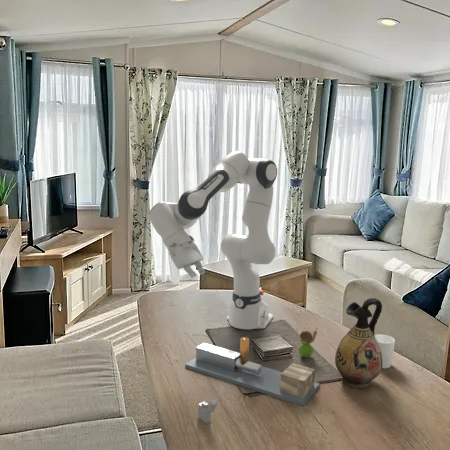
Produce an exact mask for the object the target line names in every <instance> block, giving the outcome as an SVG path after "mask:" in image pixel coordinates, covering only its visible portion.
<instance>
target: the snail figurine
mask: <svg viewBox="0 0 450 450" xmlns="http://www.w3.org/2000/svg"><path fill="white" fill-rule="evenodd" d="M317 330H318V327H315V330H314V331H313V332H311V331H308V330H303V331H301V332H300V334H299V338H300V339H299V342H300V343H301V344H300V345H299V347H298V353H299V355H300V356H301V357H302V358H306V359H308V358H311V356H313V354H314V347H313V346H312V345H311V344H312V343H313V342H314V341H315V340H316V337H317V333H318V331H317Z"/></svg>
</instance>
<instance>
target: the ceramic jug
mask: <svg viewBox="0 0 450 450" xmlns="http://www.w3.org/2000/svg"><path fill="white" fill-rule="evenodd" d="M372 305H374V306H375V309H374V312H373V313H372V312H371V310H370V309H369V307H370V306H372ZM345 311H346V314H347V315H348V316H350V317H351V316H352V317H353V318H356V319H357V321H356V323H355V325H354V326H352V327H351V328H350V330H348V332H346V334H345V335H344V336H343V338H342V339H341V341H340V343H339V344H338V346H337V349H336V352H335V355H334V360H335V361H334V362H335V366H336V369H337V372H338V373H339V374H340V377H342V382H343V383H345V384H346V386H349V387H352V388H358V389H359V388H366V387H368V386H369V385H370V384H371V383H372V381H373V380H375V379H376V378H377V377H379V375H380V374H381V372H382V369H383V368H382V364H383V359H382V352H381V349H380V346H379V344H378V342H377V340H376V338H375V336H374V335H375V329H376V325H377V323H378V320H379V318H380V316H381V313H382V311H383V305H382V302H381V300H379V299H377V298H375V297H373V298H372V297H369V298H367V299H365V301H363V304H362V306H361V305H360V304H358V303H357V302H356V301H354V302H352V303H350V304H349V305H348V306H347V308H346V310H345ZM369 318H370V322H369V320H368V319H369Z"/></svg>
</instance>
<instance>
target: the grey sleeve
mask: <svg viewBox="0 0 450 450" xmlns="http://www.w3.org/2000/svg"><path fill="white" fill-rule="evenodd" d="M195 350H196V351H195V357H196V361H200V362H203V363H206V364H209V365H212V366H215V367H218V368H222V369H225V370H228V371H231V372H235V371H236V370H238V369H239V368H237V367H235V359H237V358H240V352H239V351H238V352H237V351H233V350H230V349H227V348H224V347H221V346H217V345H214V344H210V343H206V342H203V343H201V344H199V345H197V346H196V348H195Z"/></svg>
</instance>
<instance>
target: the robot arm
mask: <svg viewBox="0 0 450 450" xmlns="http://www.w3.org/2000/svg"><path fill="white" fill-rule="evenodd" d="M277 176H278V166H277V164H276V162H275V161H273V160H272V159H267V158H258V157H250V158H249V157H248V156H247V155H246V154H245V153H244V152H242V151H240V150H239V151H238V150H234V151H231V152H230V153H228V154H227V155H226V156H223V158H221V160H219V162H217V163H216V164H215V165H213V167H212V168H211V170H210V172H209V173H208V175H207V178H206V179H205V180H204V181H203V182H202V183H200V184H199V185H198V186H197V187H195V188H192V189H189V190H187V191H184V192H183V193H181V195H180V198H179V199H178V201H177V202H166V201H164V200H163V201H159V202H157V203H156V204H155V205H154V206H153V207H151V209H150V210H149V213H148V218H149V220H150V223H151V225H152V227H153V228H154V230H155V231H156V233H157V234H158V235H159V237H160V238H161V241H162V242H163V244H164V246H165V247H166V249H167V251H168V253H169V256H170V258H171V260H172V262H173V263H174V267H176V268H177V270H182V269H183V270H184V271H185V272H186V273H187V274H188V275H189V277H190V278H191V279H194V278H195V277H197V273H196V271H194V270H193V269H192V266H195V268H196V269H197V272H198V273H199V275H200V276H201V275H203V274H205V273H206V271H205V269H204V267H203V263H202V261H203V260H204V256H203V255H202V253H201V251H200V249H199V247H198V245H197V244H196V243H195V242H196V241H195V238H194V237H193V236H192V235H189V234H188V233H187V232H186V230H187V229H190V228H192V227H193V226H194V225H195V224H196V223H197V222H198V220H199V219H200V218H201V216H203V214H204V213H205V212H206V211H207V208H208V205H209V202H210V201H211V199H212V198H213V197H214V196H215V195H217V193H219V192H220V193H226V192H228V191H229V190H230V189H232V188H233V187H235V186H236V184H241V185H242V184H243V185H248V187H249V191H248V193H247V196H246V199H245V203H244V207H243V211H242V212H243V213H242V217H241V220H242V222H243V224H244V225H245V226H246V227H247V230H248V235H245V234H242V233H241V234H240V233H231V234H226V235H225V236H224V237H223V239H222V240H221V243H220V249H221V253H222V254H223V255H224V257H225V258H226V259H227V261H228V263H229V264H230V267H231V270H232V275H233V290H232V301H230V302H229V303H230V304H229V310H228V311H229V314H228V315H227V316H226V320H227V321H228V323H229V325H230V326H231V327H233V328H234V329H235V328H236V329H240V330H253V329H254V330H255V329H266V327H267V326H268V324H269V323H270V322H271V321H272V319H273V318H274V315H273V314H272V313H270V312H269V306H268V304H267V303H266V302H265V301H263V299H262V296H264V293H265V292H264V290H260V281H261V280H260V278H261V277H260V274H259V272H258V271H257V270H256V268H254V267H253V265H252V264H254V265H269V264H271V263H272V262H273V261H274V259H275V257H276V255H277V251H276V246H275V244H274V242H272V240H271V238H270V236H269V235H270V234H269V230H268V223H269V219H270V213H271V209H272V204H273V199H274V198H273V197H274V186H273V185H274V183H275V181H276V179H277Z"/></svg>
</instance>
